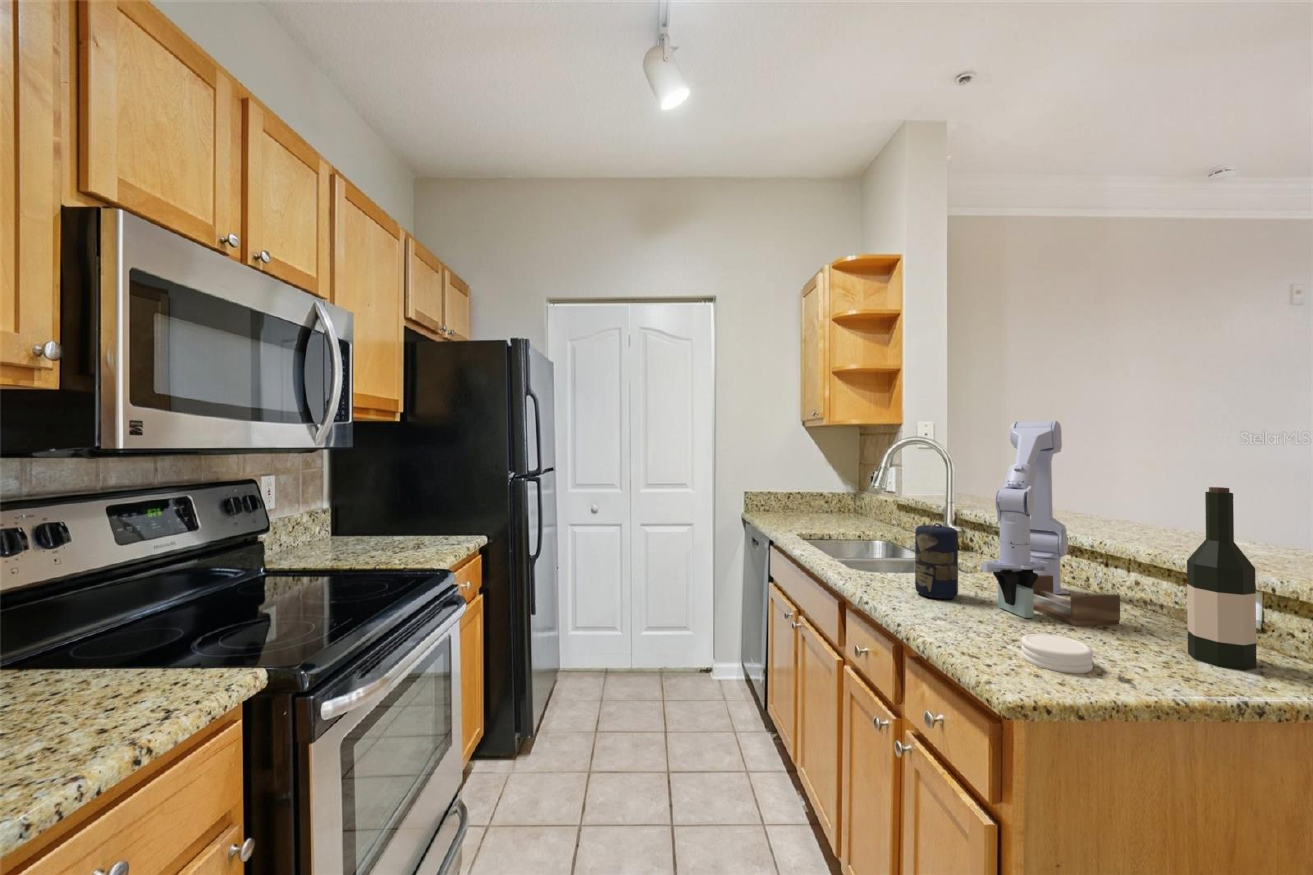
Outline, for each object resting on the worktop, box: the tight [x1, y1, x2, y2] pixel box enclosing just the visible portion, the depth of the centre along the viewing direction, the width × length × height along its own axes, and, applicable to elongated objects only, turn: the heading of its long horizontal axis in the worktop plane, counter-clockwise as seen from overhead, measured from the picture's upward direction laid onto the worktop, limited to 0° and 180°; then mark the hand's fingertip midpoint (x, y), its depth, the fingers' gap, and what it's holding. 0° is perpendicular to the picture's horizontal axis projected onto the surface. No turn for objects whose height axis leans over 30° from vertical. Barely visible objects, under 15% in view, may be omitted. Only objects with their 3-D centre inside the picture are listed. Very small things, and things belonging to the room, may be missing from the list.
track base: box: [1031, 575, 1121, 627], centre depth 123 cm, size 18×10×6 cm, turn 5°
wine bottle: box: [1186, 486, 1258, 671], centre depth 95 cm, size 8×8×30 cm
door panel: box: [997, 582, 1035, 619], centre depth 122 cm, size 8×2×6 cm, turn 5°
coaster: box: [1020, 633, 1094, 674], centre depth 95 cm, size 10×10×4 cm
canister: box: [914, 522, 959, 599], centre depth 136 cm, size 10×10×18 cm
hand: (1015, 603), depth 122 cm, fingers closed on door panel, 2 cm apart
